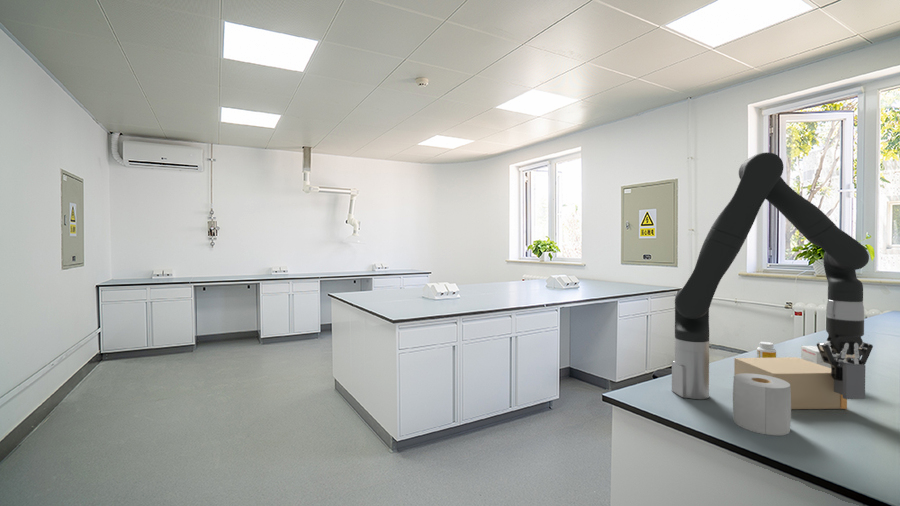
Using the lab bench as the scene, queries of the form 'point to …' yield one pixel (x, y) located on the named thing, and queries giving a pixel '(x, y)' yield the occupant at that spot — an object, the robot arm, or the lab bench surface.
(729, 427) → the lab bench surface
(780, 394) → the toilet paper roll
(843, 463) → the lab bench surface
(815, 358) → the ink box
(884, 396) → the lab bench surface
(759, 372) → the carton
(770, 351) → the supplement bottle
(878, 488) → the lab bench surface
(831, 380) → the carton flap
